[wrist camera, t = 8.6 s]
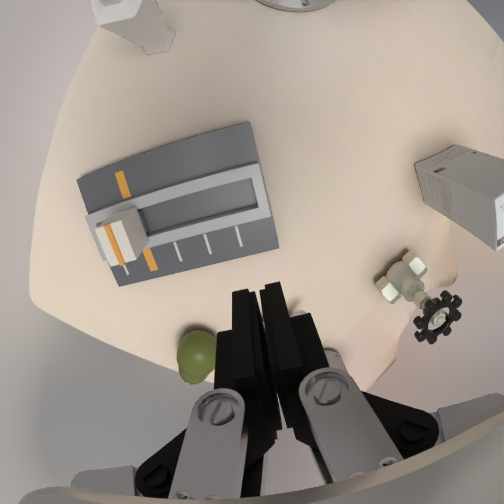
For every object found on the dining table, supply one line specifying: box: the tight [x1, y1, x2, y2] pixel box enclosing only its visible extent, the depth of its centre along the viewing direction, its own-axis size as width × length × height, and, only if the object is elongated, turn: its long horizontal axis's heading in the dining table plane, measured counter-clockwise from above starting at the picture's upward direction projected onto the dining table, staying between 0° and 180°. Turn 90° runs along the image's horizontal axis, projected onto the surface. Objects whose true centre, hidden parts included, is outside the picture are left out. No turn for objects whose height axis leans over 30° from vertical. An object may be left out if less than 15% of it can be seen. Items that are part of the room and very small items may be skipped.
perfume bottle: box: [91, 0, 175, 54], centre depth 17 cm, size 5×4×15 cm
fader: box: [95, 207, 149, 267], centre depth 28 cm, size 4×3×6 cm
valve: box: [375, 250, 462, 344], centre depth 31 cm, size 7×7×12 cm
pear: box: [177, 330, 217, 384], centre depth 38 cm, size 6×5×10 cm
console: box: [77, 122, 279, 287], centre depth 31 cm, size 14×20×3 cm
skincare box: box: [415, 145, 504, 251], centre depth 25 cm, size 8×6×15 cm
